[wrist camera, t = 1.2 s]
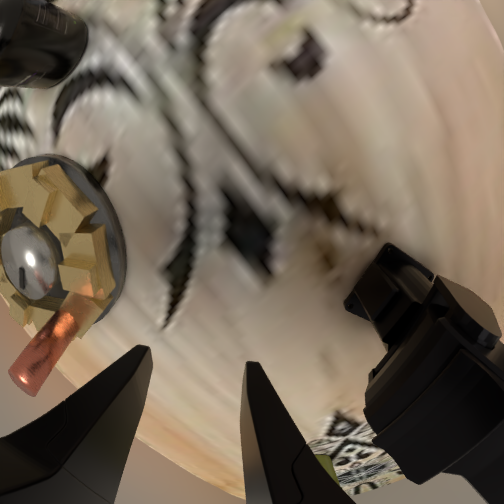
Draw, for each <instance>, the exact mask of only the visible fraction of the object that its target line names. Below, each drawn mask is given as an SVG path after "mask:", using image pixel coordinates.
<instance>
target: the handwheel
mask: <svg viewBox="0 0 504 504" xmlns="http://www.w3.org/2000/svg"><path fill="white" fill-rule="evenodd" d="M18 207H23V211H22V213H23V214H24V215H25V216H26V217H27V218H28V219H29V220H31V221H32V222H33V223H34V224H35V225H36V226H37V227H38V228H40V227H42V226H43V225H45V224H46V226H47V227H48V228H49V229H50V230H51V231H52V233H53V234H54V235H55V236H56V237H57V238H58V239H59V241H60V242H61V247H62V252H63V256H64V260H63V261H62V262H60V263H59V264H58V267H59V272H60V277H61V282H62V286H63V290H67V291H70V292H69V293H68V295H67V297H66V298H65V299H62V298H56V297H51V296H44V297H42V298H41V299H37V300H36V299H31V298H28V297H26V296H25V295H23V294H22V293H21V292H20V291H19V290H18V289H17V288H16V287H15V286H14V284H13V283H12V282H11V280H10V278H9V276H8V275H7V272H6V270H5V267H4V264H3V260H2V254H1V245H2V240H3V237H4V235H5V234H6V233H7V232H8V231H9V230H10V227H11V224H12V221H13V218H14V216H15V213H16V210H17V208H18ZM97 211H98V208H97V207H96V206H95V205H94V204H93V202H92V201H91V200H90V199H89V198H88V197H87V196H86V195H85V194H84V193H83V192H82V190H81V189H80V188H79V187H78V186H77V185H76V184H75V183H74V182H73V180H72V179H71V178H70V177H69V176H68V175H67V174H66V172H65V171H64V170H63V169H62V168H61V167H60V165H59V164H57V165H53V166H49V160H46V161H41V162H37V163H32V164H28V165H23V166H19V167H15V168H11V169H8V170H4V171H1V172H0V293H1V294H2V295H3V296H4V298H5V299H6V300H7V301H8V302H9V304H10V313H9V315H10V316H11V317H12V318H13V319H14V320H15V321H16V322H17V323H18V324H19V325H21V327H24V326H25V325H26V324H28V325H30V324H31V323H32V321H33V322H34V325H35V327H36V329H37V331H39V332H38V333H37V334H36V335H35V336H34V338H33V339H32V340H31V341H30V343H29V344H28V345H27V346H26V348H25V349H24V350H23V352H22V353H21V354H20V355H19V357H18V358H17V359H16V361H15V362H14V363H13V365H12V366H11V367H10V369H9V370H8V373H9V375H10V377H11V379H12V380H13V381H14V383H15V384H16V385H17V386H18V387H19V388H20V389H21V390H23V391H24V392H25V393H27V394H28V395H30V396H33V397H34V396H36V395H37V393H38V391H39V390H40V388H41V386H42V384H43V383H44V381H45V380H46V378H47V377H48V375H49V374H50V372H51V371H52V369H53V367H54V366H55V364H56V363H57V361H58V360H59V358H60V357H61V356H62V354H63V353H64V351H65V350H66V348H67V347H68V345H69V344H70V343H71V341H73V340H74V339H75V338H76V336H78V337H79V338H80V339H81V338H82V337H83V336H84V334H85V333H86V332H87V331H88V329H89V328H90V327H91V326H92V324H93V323H94V322H95V321H96V319H97V318H98V317H99V316H100V315H101V313H102V312H103V311H104V310H105V308H106V307H107V305H108V304H109V303H110V301H111V300H112V299H113V296H112V295H111V294H110V293H111V291H112V290H113V289H114V288H115V286H116V284H115V279H114V274H113V269H112V263H111V257H110V252H109V245H108V239H107V232H106V224H89V223H90V221H91V220H92V218H93V217H94V215H95V214H96V212H97Z"/></svg>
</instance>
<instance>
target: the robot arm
mask: <svg viewBox="0 0 504 504" xmlns="http://www.w3.org/2000/svg"><path fill="white" fill-rule="evenodd" d="M389 248H391V250H390V251H389V252H388V249H389ZM428 277H429V278H428ZM433 279H434V274H433V273H432V272H431V271H430V270H428V269H427V268H425V267H424V266H423V265H421V264H420V263H419V262H417V261H416V260H414V259H413V258H412V257H410V256H409V255H407V254H406V253H405V252H403V251H402V250H400V249H399V248H397V247H396V246H395V245H393V244H391V243H387V244H386V245H385V246H384V247H383V248H382V250H381V251H380V253H379V254H378V256H377V257H376V259H375V260H374V262H373V263H372V264H371V265H370V267H369V268H368V269H367V271H366V272H365V274H364V275H363V276H362V278H361V279H360V281H359V282H358V283H357V285H356V286H355V288H354V290H353V291H352V293H351V294H350V295H349V297H348V298H347V299H346V301H345V302H344V307H345V310H347V311H348V312H351V313H353V314H355V315H357V316H359V317H362V318H364V319H366V320H368V321H371V322H372V324H373V326H374V328H375V330H376V332H377V333H378V335H379V337H380V339H381V341H382V343H383V345H384V347H385V349H386V351H387V354H386V355H385V356H384V358H383V359H382V360H381V361H380V363H379V364H378V365H377V366H376V368H374V369H372V370H371V372H370V373H369V384H368V386H367V389H366V392H365V405H366V407H365V408H364V409H363V412H364V415H365V417H366V420H367V422H368V424H369V425H370V427H371V429H372V430H373V431H374V432H375V433H376V435H377V436H375V437H374V438H373V439H372V442H373V443H374V444H375V445H377V446H378V447H380V448H382V449H383V450H385V451H386V452H387V453H388V454H389V455H390V456H391V457H392V458H393V459H394V460H395V462H396V463H397V464H398V466H399V467H400V469H401V471H402V472H403V474H404V475H405V477H406V478H407V479H409V480H410V481H412V482H414V483H416V484H418V485H421V484H423V483H425V482H426V481H428V480H430V479H431V478H433V477H434V476H436V475H438V474H439V473H441V472H442V473H449V474H454V475H460V476H462V477H463V478H464V479H465V480H466V481H467V482H468V483H469V484H470V485H471V486H472V487H473V488H474V489H475V490H476V492H477V493H478V494H479V495H480V496H481V497H482V498H483V499H484V500H485V502H486V503H487V504H504V344H503V343H502V342H501V341H500V340H499V339H500V338H501V336H502V333H501V330H500V328H499V325H498V322H497V320H496V317H495V315H494V313H493V310H492V308H491V307H490V306H489V305H488V304H487V303H486V302H484V301H483V300H482V299H481V298H480V297H479V296H477V295H476V294H475V293H474V292H473V291H471V290H469V289H467V288H465V287H463V286H461V285H459V284H457V283H454V282H452V281H450V280H448V279H446V278H444V277H442V276H440V275H437V276H436V278H435V280H434V281H433V283H434V284H432V283H431V282H432V280H433ZM349 304H352V305H351V306H348V305H349ZM152 369H153V361H152V355H151V349H150V347H149V346H145V345H140V344H139V345H136V346H135V347H134V348H132V349H131V350H130V351H128V352H127V353H126V354H124V355H123V356H122V357H120V358H119V359H118V360H116V361H115V362H114V363H113V364H111V365H110V366H109V367H107V368H106V369H105V370H103V371H102V372H101V373H99V374H98V375H97V376H95V377H94V378H93V379H91V380H90V381H89V382H87V383H86V384H85V385H83V386H82V387H81V388H79V389H78V390H77V391H76V392H74V393H73V394H72V395H70V396H69V397H68V398H66V399H65V401H62V402H61V403H60V404H58V405H57V406H55V407H54V408H53V409H51V410H50V411H48V412H47V413H46V414H44V415H42V416H41V417H39V418H37V419H36V420H34V421H32V422H31V423H29V424H27V425H25V426H23V427H22V428H20V429H18V430H16V431H14V432H13V433H11V434H9V435H7V436H4V437H1V438H0V504H114V501H115V498H116V494H117V491H118V487H119V484H120V480H121V477H122V474H123V470H124V467H125V464H126V461H127V457H128V454H129V451H130V448H131V445H132V442H133V439H134V436H135V433H136V430H137V427H138V424H139V421H140V418H141V415H142V412H143V409H144V405H145V401H146V396H147V391H148V387H149V382H150V378H151V374H152ZM240 434H241V447H242V459H243V471H244V483H245V493H246V504H356V503H355V502H354V501H353V500H352V499H351V498H350V497H349V496H348V495H347V494H346V493H345V491H344V490H343V489H342V488H341V487H340V486H339V485H338V484H337V483H336V482H335V481H334V479H333V478H332V477H331V476H330V475H329V474H328V472H327V471H326V470H325V469H324V467H323V466H322V465H321V463H320V462H319V461H318V459H317V458H316V456H315V455H314V453H313V452H312V450H311V449H310V447H309V445H308V444H306V441H305V439H304V438H303V436H302V434H301V433H300V431H299V429H298V428H297V426H296V425H295V423H294V421H293V420H292V418H291V416H290V415H289V413H288V411H287V410H286V408H285V406H284V404H283V403H282V401H281V399H280V398H279V396H278V394H277V393H276V391H275V389H274V387H273V386H272V384H271V382H270V380H269V379H268V377H267V375H266V373H265V372H264V370H263V368H262V366H261V364H260V363H259V362H253V361H247V362H246V364H245V370H244V375H243V383H242V397H241V411H240Z"/></svg>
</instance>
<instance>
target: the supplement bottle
mask: <svg viewBox="0 0 504 504" xmlns="http://www.w3.org/2000/svg"><path fill="white" fill-rule="evenodd" d="M86 39H87V29H86V26H85V24H84V22H83V21H82V20H81V19H80V18H79V17H77V16H75V15H73V14H72V13H70V12H68V11H66V10H64V9H62V8H60V7H58V6H56V5H54V4H52V3H50V2H48V1H46V0H0V86H3V87H23V88H38V89H43V88H48V87H51V86H53V85H55V84H57V83H58V82H60V81H61V80H63V79H64V78H65V77H66V76H67V75H68V74H69V73H70V72H71V71H72V69H73V68H74V67H75V65H76V64H77V62H78V61H79V59H80V57H81V55H82V53H83V50H84V48H85V44H86Z"/></svg>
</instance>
